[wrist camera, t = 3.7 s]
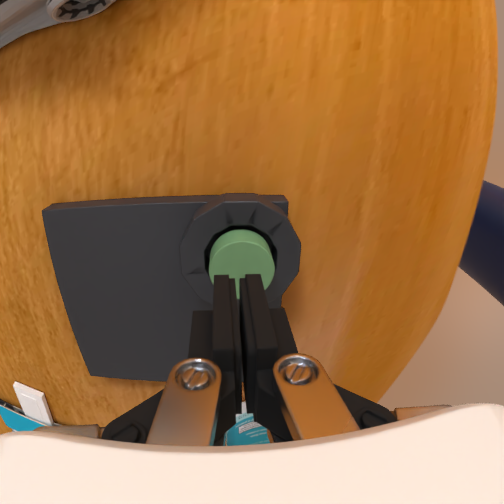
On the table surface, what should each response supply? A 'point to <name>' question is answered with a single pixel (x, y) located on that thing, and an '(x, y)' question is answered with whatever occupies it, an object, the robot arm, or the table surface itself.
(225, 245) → the button
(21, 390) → the blue paper trimmer
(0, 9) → the car model
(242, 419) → the pill bottle
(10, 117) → the table surface
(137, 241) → the scale
